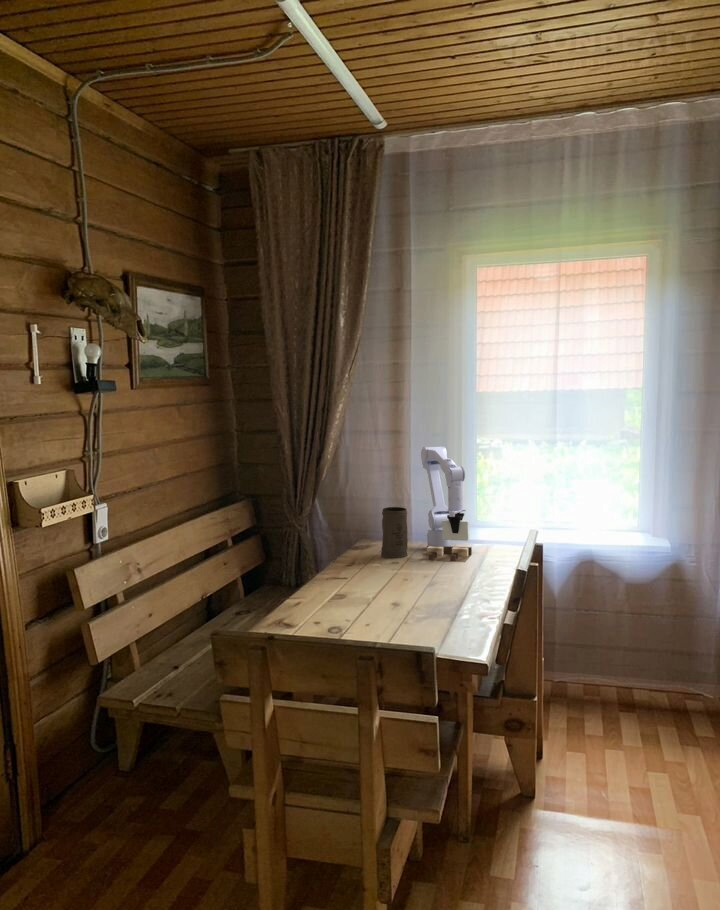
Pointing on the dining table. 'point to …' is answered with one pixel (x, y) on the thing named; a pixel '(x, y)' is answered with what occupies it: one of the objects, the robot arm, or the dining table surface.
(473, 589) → the dining table surface
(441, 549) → the offcut left
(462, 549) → the offcut right
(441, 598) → the dining table surface
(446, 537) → the panel
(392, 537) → the beer stein
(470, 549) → the rack
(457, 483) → the robot arm
